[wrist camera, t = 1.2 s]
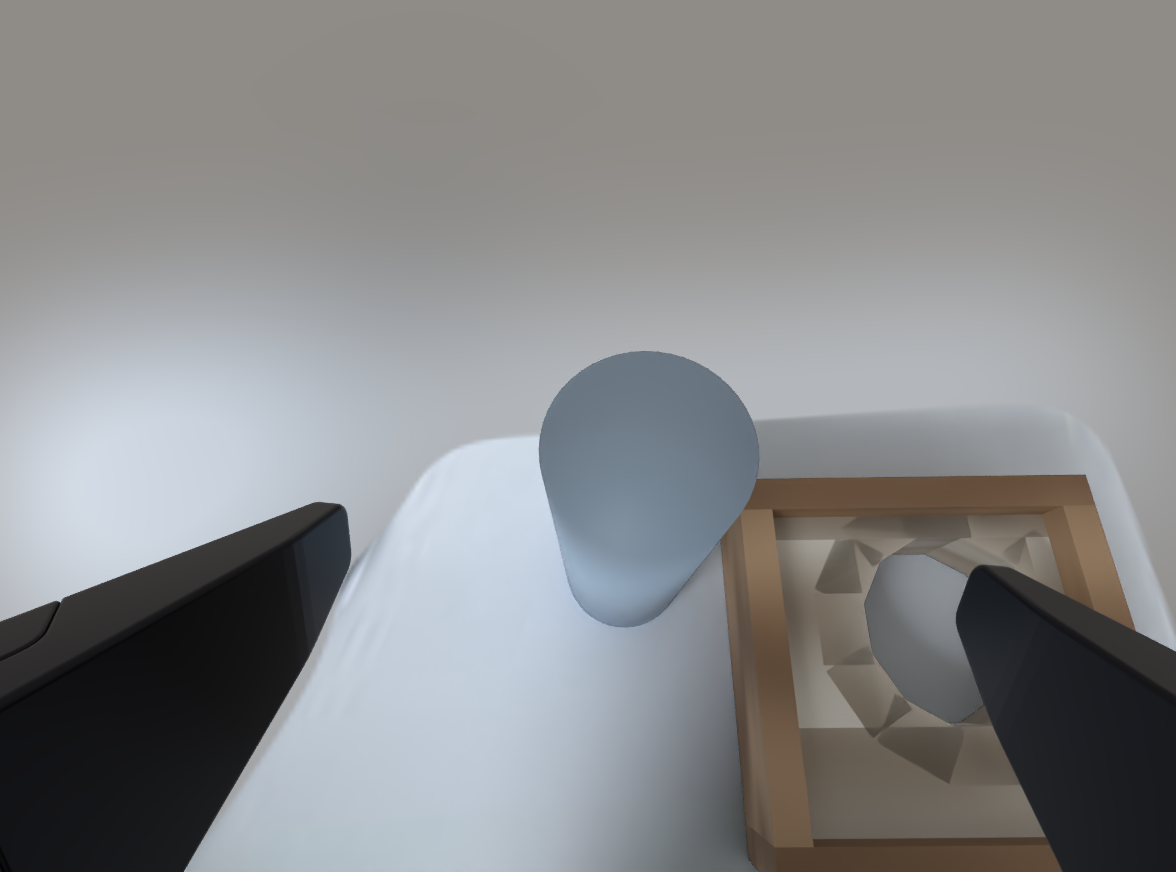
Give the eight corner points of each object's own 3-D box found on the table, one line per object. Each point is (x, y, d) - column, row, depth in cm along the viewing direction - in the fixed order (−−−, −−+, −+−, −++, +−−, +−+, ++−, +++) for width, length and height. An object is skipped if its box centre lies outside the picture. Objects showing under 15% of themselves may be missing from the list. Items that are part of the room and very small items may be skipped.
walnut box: (1114, 857, 19) (1219, 890, 16) (749, 860, 19) (779, 893, 16) (1017, 505, 23) (1085, 474, 20) (717, 509, 23) (736, 479, 20)
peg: (666, 640, 22) (739, 582, 11) (554, 610, 22) (511, 525, 11) (689, 529, 23) (774, 376, 12) (583, 503, 24) (570, 331, 13)
